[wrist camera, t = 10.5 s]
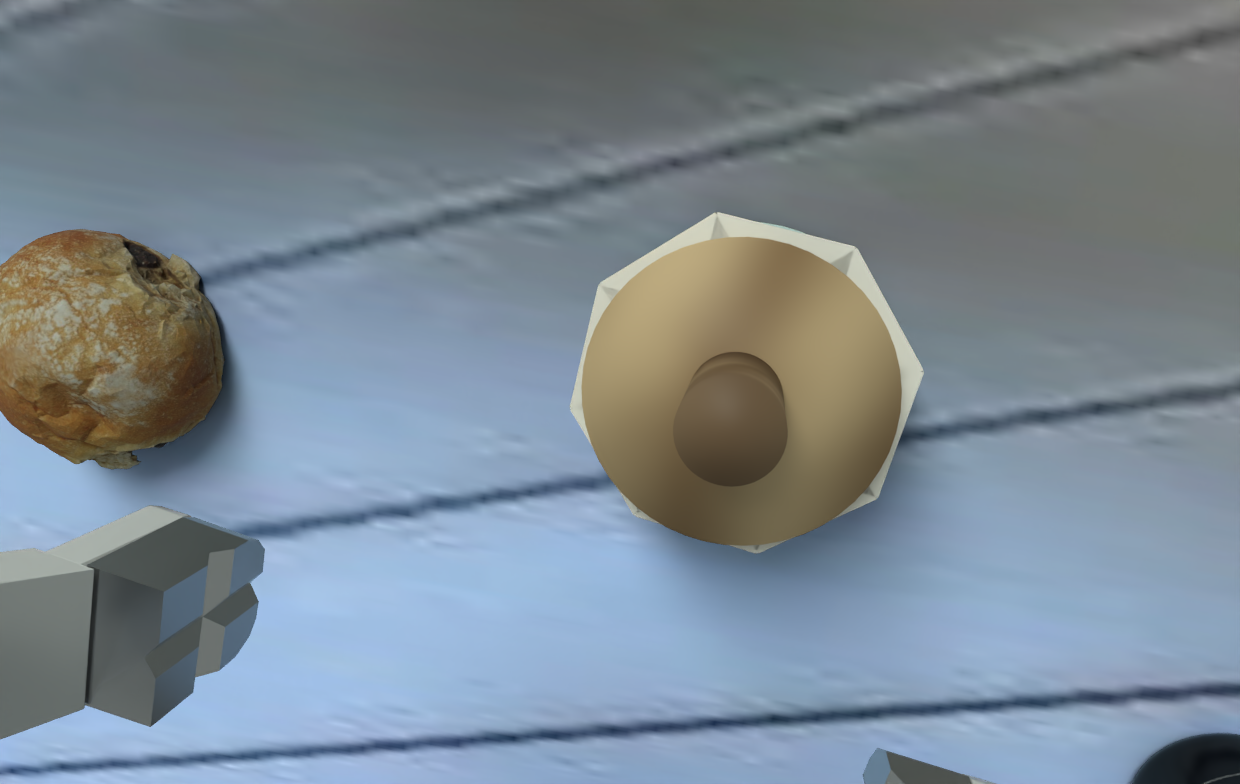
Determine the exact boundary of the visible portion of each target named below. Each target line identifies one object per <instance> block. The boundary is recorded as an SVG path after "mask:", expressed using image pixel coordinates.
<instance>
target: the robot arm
mask: <svg viewBox="0 0 1240 784" xmlns="http://www.w3.org/2000/svg"><path fill="white" fill-rule="evenodd" d="M264 552H265V549H264V548H263V546H262V545H261V543H260V542H259V540H256V539H254V538H251V537H248V536H245V535H242V534H240V533H237V532H234V531H231V530H228V529H226V528H223V527H220V526H217V525H214V524H212V523H209V522H206V521H203V520H201V519H198V518H195V517H191V516H189V515H187V514H184V513H181V512H178V511H174V510H171V509H168V508H165V507H162V506H151V505H149V506H147V507H145V508H143V509H140V510H138V511H136V512H134V513H131V514H129V515H127V516H125V517H122V518H120V519H118V520H116V521H113V522H111V523H109V524H107V525H104V526H102V527H100V528H98V529H95V530H93V531H91V532H89V533H87V534H84V535H82V536H80V537H78V538H75V539H73V540H71V541H69V542H66V543H64V544H62V545H60V546H57V547H55V548H53V549H51V550H48V551H46V552H44V551H41V550H38V549H35V548H32V549H23V550H15V551H6V552H0V739H3V738H6V737H8V736H11V735H14V734H17V733H19V732H22V731H25V730H28V729H30V728H33V727H36V726H39V725H41V724H44V723H47V722H49V721H52V720H55V719H58V718H60V717H63V716H66V715H69V714H71V713H74V712H77V711H80V710H82V709H84V708H85V705H87V706H90V707H93V708H96V709H99V710H101V711H104V712H107V713H110V714H113V715H116V716H119V717H122V718H125V719H128V720H131V721H134V722H137V723H140V724H143V725H146V726H149V727H151V726H152V725H154V724H155V723H156V722H157V721H159V720H160V719H161V718H162V717H163V716H165V715H166V714H167V713H168V712H170V711H171V710H172V709H173V708H174V707H176V706H177V705H178V704H179V703H181V702H182V701H183V700H184V699H185V698H187V697H188V696H189V695H190V694H192V693H193V689H194V682H195V677H198V676H202V675H205V674H209V673H213V672H216V671H220V670H221V669H222V668H223V667H224V666H225V665H226V664H228V663H229V662H230V661H231V660H232V659H233V658H235V657H236V655H237V654H238V652H239V651H240V649H241V648H242V646H243V645H244V644H245V642H246V641H247V639H248V638H249V636H250V633H251V631H252V628H253V625H254V623H255V620H256V615H257V609H258V602H259V601H258V599H257V597H256V595H255V593H254V590H253V588H252V586H251V584H250V583H251V582H252V581H253V580H254V579H255V578H256V577H258V576H259V575H260V574H261V573H262V572H263V563H264ZM863 779H864V784H996V783H992V782H989V781H986V780H982V779H979V778H975V777H972V776H969V775H965V774H960V773H956V772H953V771H950V770H947V769H944V768H940V767H937V766H934V765H931V764H928V763H924V762H921V761H918V760H915V759H912V758H908V757H905V756H902V755H899V754H896V753H892V752H889V751H886V750H883V749H880V748H877V749H876V750H875V752H874V753H873V754H872V756H871V757H870V759H869V761H868V763H867V766H866V768H865V771H864V773H863Z"/></svg>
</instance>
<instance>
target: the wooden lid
mask: <svg viewBox="0 0 1240 784" xmlns="http://www.w3.org/2000/svg"><path fill="white" fill-rule="evenodd" d="M581 388H582V408H583V413H584V419H585V425H586V428H587V431H588V435H589V438H590V441H591V444H592V446H593V449H594V451H595V453H596V455H597V457H598V460H599V462H600V463H601V465H602V466H603V468H604V470H605V471H606V473H607V475H608V476H609V478H610V479H611V480H612V481H613V483H614V484H615V485H616V486H617V488H618V489H619V490H620V491H621V493H622V494H623V495H624V496H625V497H626V498H628V499H629V500H630V501H631V502H632V503H633V504H634V505H635V506H636V507H637V508H638V509H640V510H641V511H642V512H644V513H645V514H646V515H648V516H649V517H650V518H652V519H654V520H655V521H657V522H659V523H660V524H662V525H664V526H665V527H667V528H669V529H672V530H674V531H676V532H678V533H681V534H683V535H685V536H689V537H692V538H695V539H699V540H702V541H706V542H711V543H717V544H723V545H739V546H748V545H763V544H769V543H774V542H779V541H784V540H787V539H790V538H794V537H797V536H800V535H803V534H805V533H807V532H809V531H811V530H814V529H816V528H818V527H820V526H822V525H824V524H825V523H827V522H828V521H830V520H831V519H833V518H835V517H836V516H838V515H839V514H840V513H842V512H843V511H844V510H845V509H846V508H848V507H849V506H850V505H851V504H852V503H854V502H855V501H856V500H857V499H858V497H859V496H860V495H861V494H862V493H863V492H864V491H865V490H866V489H867V488H868V487H869V485H870V484H871V482H872V481H873V480H874V478H875V477H876V475H877V474H878V472H879V471H880V469H881V467H882V465H883V464H884V462H885V460H886V458H887V456H888V454H889V452H890V449H891V446H892V444H893V441H894V438H895V435H896V432H897V427H898V422H899V417H900V412H901V397H902V387H901V375H900V367H899V363H898V358H897V354H896V350H895V347H894V344H893V342H892V339H891V336H890V334H889V331H888V329H887V327H886V325H885V323H884V322H883V320H882V318H881V316H880V314H879V313H878V311H877V309H876V308H875V307H874V305H873V304H872V303H871V301H870V300H869V299H868V297H867V296H866V295H865V293H864V292H863V291H862V290H861V289H860V288H859V287H858V286H857V285H856V284H855V283H854V282H853V281H852V280H851V279H850V278H849V277H848V276H846V275H845V274H844V273H842V272H841V271H840V270H838V269H837V268H836V267H834V266H833V265H832V264H830V263H828V262H827V261H825V260H823V259H821V258H819V257H818V256H816V255H814V254H812V253H810V252H808V251H806V250H803V249H801V248H798V247H796V246H793V245H791V244H787V243H783V242H779V241H775V240H771V239H765V238H755V237H725V238H719V239H713V240H707V241H703V242H699V243H696V244H693V245H689V246H686V247H683V248H680V249H678V250H676V251H674V252H672V253H669V254H667V255H665V256H663V257H661V258H660V259H658V260H656V261H655V262H653V263H651V264H650V265H648V266H647V267H645V268H644V269H643V270H642V271H640V272H639V273H638V274H637V275H635V276H634V277H633V278H632V279H630V280H629V281H628V282H627V284H626V285H625V286H624V287H623V288H622V289H621V290H620V291H619V292H618V293H617V294H616V295H615V297H614V298H613V299H612V301H611V302H610V304H609V305H608V306H607V308H606V309H605V311H604V312H603V314H602V316H601V318H600V320H599V322H598V324H597V325H596V327H595V329H594V332H593V335H592V337H591V340H590V343H589V345H588V348H587V353H586V357H585V361H584V366H583V375H582V386H581Z"/></svg>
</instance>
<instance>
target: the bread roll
mask: <svg viewBox="0 0 1240 784" xmlns="http://www.w3.org/2000/svg"><path fill="white" fill-rule="evenodd" d="M200 278H201V277H200V276H199V275H198V273H197V272H196V271H195V270H194V269H193V268H192V266H191V265H190V264H189V263H188V262H187V261H185V260H184V259H182V258H180V257H178V256H176V255H174V254H172V256H171V258H170V259H168V258H166V257H165V256H164V255H162V254H161V253H159V252H157V251H155V250H153V249H151V248H149V247H147V246H144V245H142V244H140V243H138V242H135V241H131V240H128V239H127V238H125V237H123V236H122V235H120V234H110V233H106V232H100V231H92V230H85V229H77V230H67V231H62V232H57V233H53V234H50V235H47V236H43V237H41V238H38V239H36V240H35V241H33V242H31V243H30V244H28V245H26V246H24V247H23V248H22V249H20V250H19V251H18V252H17V253H16V254H14V255H13V256H11V257H10V258H9V259H8V261H6V262H5V263H3V264H2V265H1V266H0V411H1V412H2V413H3V415H4V416H5V417H6V419H7V420H8V421H9V422H10V423H11V424H12V425H13V426H14V427H16V428H17V429H18V430H19V431H21V432H22V433H24V434H25V435H27V436H29V437H30V438H32V439H33V440H34V441H35V442H37V443H39V444H42V445H44V446H46V447H47V448H49V449H50V450H52V451H53V452H55V453H56V454H58V455H60V456H62V457H64V458H66V459H68V460H69V461H71V462H72V463H74V464H80V463H82V462H84V461H86V460H95V461H96V462H97V463H98V464H99V465H100V466H101V467H104V468H109V469H117V468H119V469H129V468H131V467H132V466H135V465H137V464H139V463H140V462H141V461H137V456H135V455H132V451H133V450H138V449H145V448H151V447H156V448H160V447H163V446H164V445H165V444H166V443H168V442H172V441H174V440H175V439H177V438H178V437H180V436H183V435H184V434H186V433H187V432H189V431H190V430H192V429H193V428H194V427H195V426H196V425H197V424H198V423H199V422H200V421H203V420H205V416H206V415H207V413H208V412H209V410H210V408H211V407H212V405H213V404H214V402H215V400H216V399H217V397H218V395H219V392H220V390H221V388H222V382H221V377H222V374H223V372H222V371H223V365H224V361H225V359H224V357H223V353H222V348H221V337H220V332H219V327H218V323H217V319H216V316H215V313H214V310H213V308H212V306H211V304H210V302H209V301H208V300H207V298H206V297H205V296H204V295H203V294H202V293H201V292H200V291H199V280H200Z"/></svg>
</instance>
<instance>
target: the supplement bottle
mask: <svg viewBox="0 0 1240 784" xmlns="http://www.w3.org/2000/svg"><path fill="white" fill-rule="evenodd" d="M1132 784H1240V735H1237V734H1222V733H1216V734H1204V735H1198V736H1193V737H1189V738H1186V739H1182V740H1180V741H1177V742H1175V743H1173V744H1171V745H1168V746H1166V747H1165V748H1163V749H1161V750H1160V751H1158V752H1157V753H1156V754H1154V755H1153V756H1152V757H1151V758H1150V759H1148V760H1147V761H1146V763H1145V764H1144V765H1143V766H1142V767H1141V768H1140V770H1139V771H1138V773H1137V775H1136V776H1135V778H1134V780H1133V783H1132Z"/></svg>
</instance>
